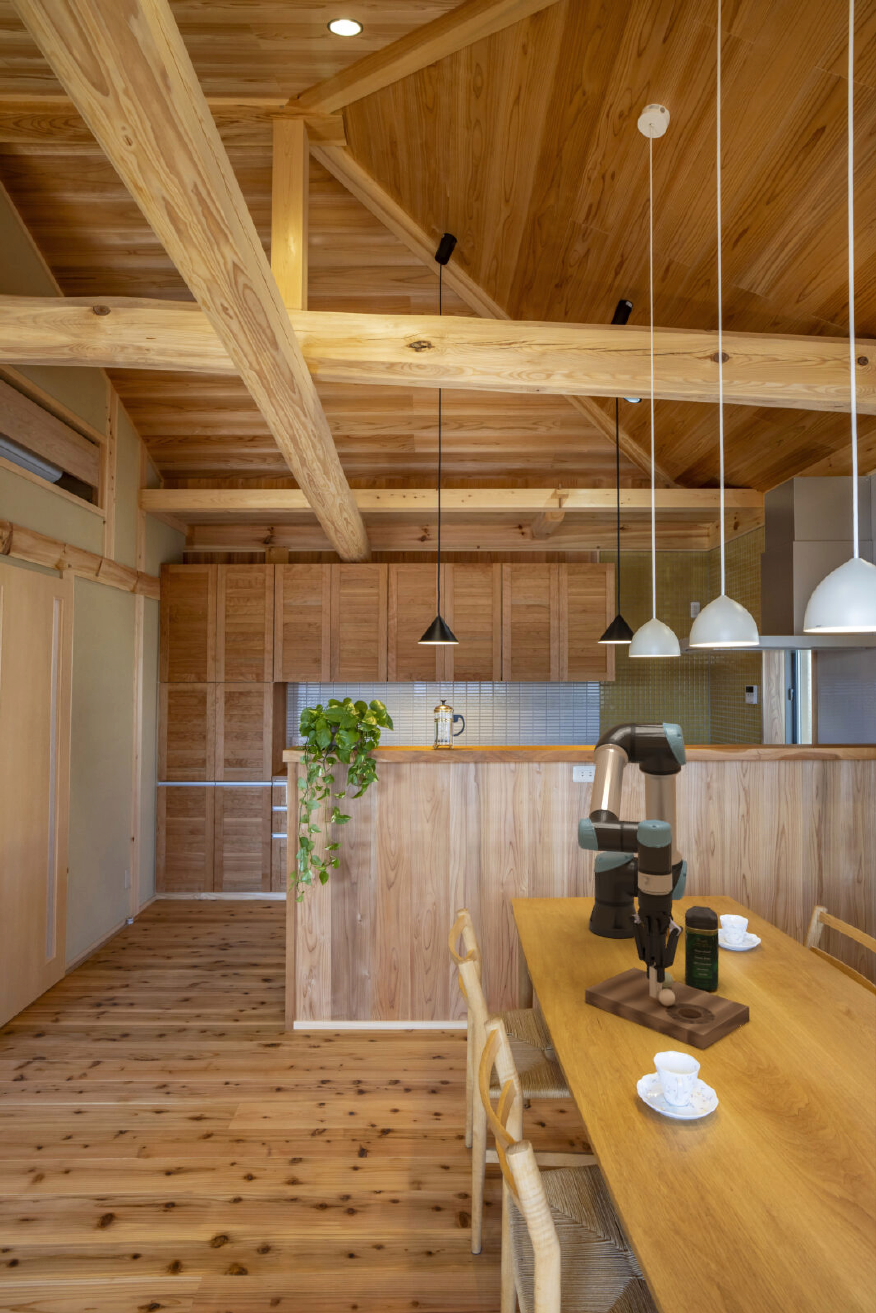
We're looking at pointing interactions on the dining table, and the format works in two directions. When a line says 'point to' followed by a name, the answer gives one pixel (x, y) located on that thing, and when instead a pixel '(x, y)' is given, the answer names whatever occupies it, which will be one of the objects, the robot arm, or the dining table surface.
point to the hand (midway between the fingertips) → (655, 994)
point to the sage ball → (667, 980)
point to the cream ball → (666, 997)
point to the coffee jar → (701, 948)
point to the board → (669, 1008)
